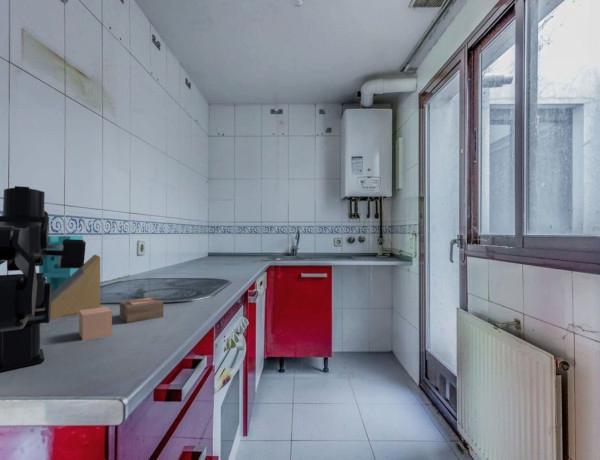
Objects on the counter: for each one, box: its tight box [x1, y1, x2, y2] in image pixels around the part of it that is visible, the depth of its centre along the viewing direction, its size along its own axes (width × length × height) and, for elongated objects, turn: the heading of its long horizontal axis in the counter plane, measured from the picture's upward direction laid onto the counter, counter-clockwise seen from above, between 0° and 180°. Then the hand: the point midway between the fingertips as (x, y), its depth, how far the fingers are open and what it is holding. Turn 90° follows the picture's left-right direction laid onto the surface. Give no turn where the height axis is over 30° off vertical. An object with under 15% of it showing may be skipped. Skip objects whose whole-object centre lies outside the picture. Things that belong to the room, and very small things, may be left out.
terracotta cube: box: [78, 306, 113, 341], centre depth 65 cm, size 5×5×5 cm
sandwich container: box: [39, 254, 101, 320], centre depth 81 cm, size 9×15×15 cm, turn 131°
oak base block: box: [119, 296, 164, 324], centre depth 78 cm, size 8×8×4 cm
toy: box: [38, 235, 84, 293], centre depth 93 cm, size 9×6×20 cm, turn 86°
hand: (34, 257), depth 71 cm, fingers open, 9 cm apart
